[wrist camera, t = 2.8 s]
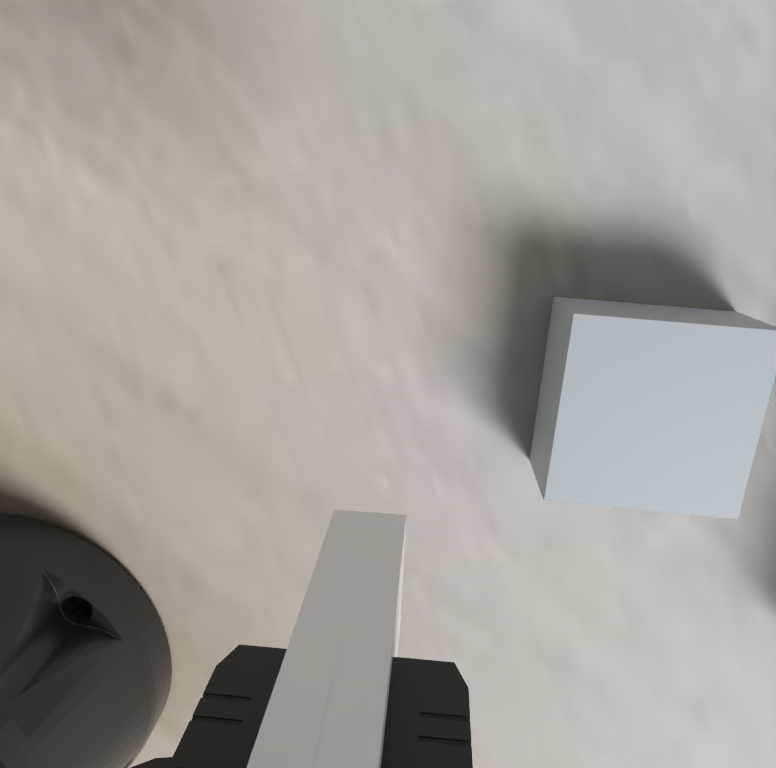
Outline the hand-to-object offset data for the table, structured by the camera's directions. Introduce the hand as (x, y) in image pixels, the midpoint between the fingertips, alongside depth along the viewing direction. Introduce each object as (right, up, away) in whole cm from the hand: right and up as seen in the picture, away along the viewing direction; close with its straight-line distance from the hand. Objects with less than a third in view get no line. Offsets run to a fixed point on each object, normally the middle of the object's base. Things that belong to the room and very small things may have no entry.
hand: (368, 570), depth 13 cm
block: (+10, +4, +13) cm, 17 cm away
